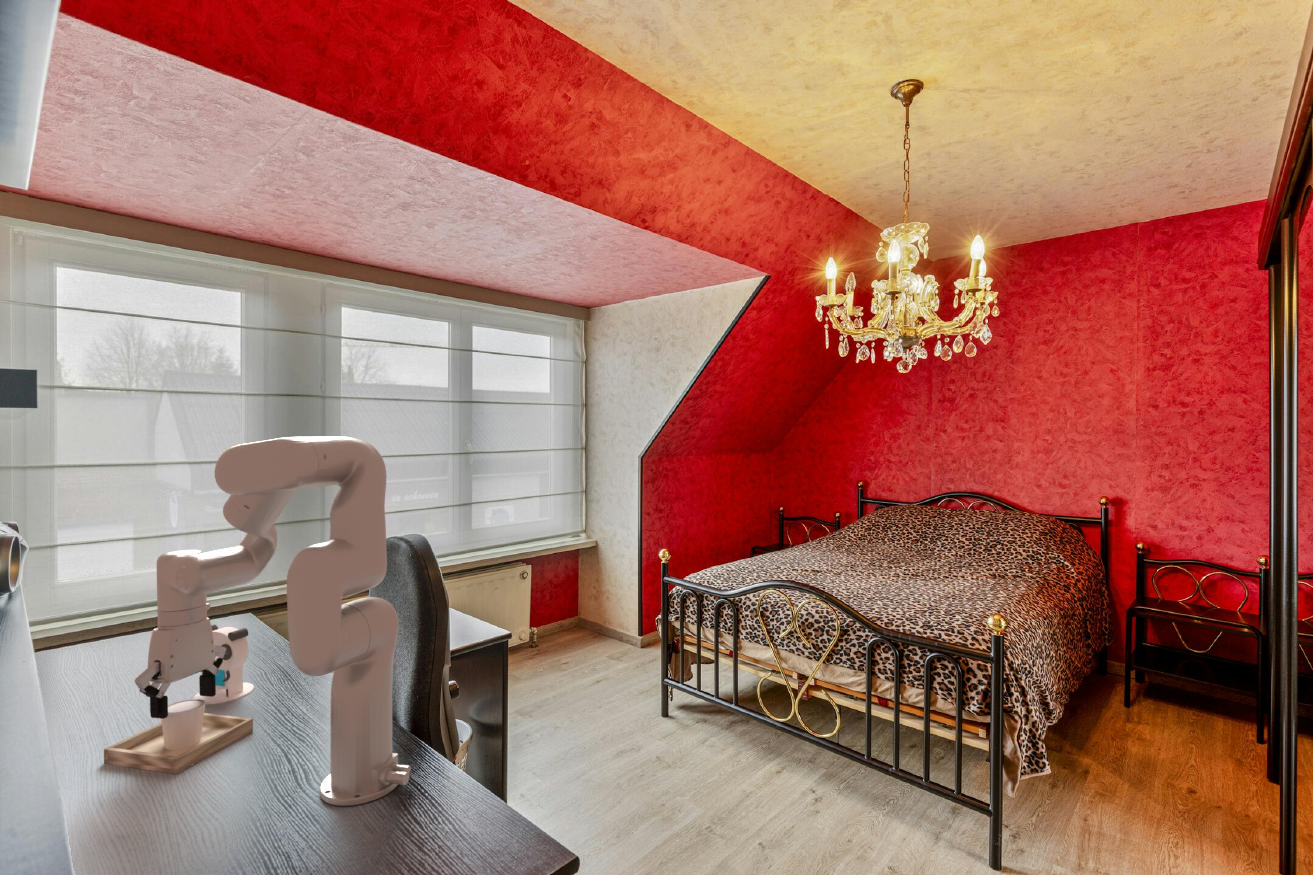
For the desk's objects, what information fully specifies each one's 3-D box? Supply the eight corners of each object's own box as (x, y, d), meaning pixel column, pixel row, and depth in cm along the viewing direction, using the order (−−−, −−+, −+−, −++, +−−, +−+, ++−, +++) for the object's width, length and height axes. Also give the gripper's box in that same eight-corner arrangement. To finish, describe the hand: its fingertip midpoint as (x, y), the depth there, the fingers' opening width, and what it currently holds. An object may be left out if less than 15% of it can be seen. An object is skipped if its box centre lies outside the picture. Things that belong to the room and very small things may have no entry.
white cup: (181, 753, 115) (181, 715, 115) (150, 749, 117) (150, 712, 116) (214, 735, 122) (214, 699, 122) (185, 732, 123) (185, 696, 123)
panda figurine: (179, 699, 140) (179, 633, 140) (227, 680, 151) (227, 618, 151) (219, 707, 136) (219, 638, 136) (265, 686, 147) (265, 623, 147)
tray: (252, 731, 125) (252, 718, 125) (176, 773, 110) (176, 759, 110) (187, 723, 129) (187, 710, 129) (103, 763, 113) (103, 749, 113)
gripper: (207, 603, 128) (209, 686, 128) (119, 629, 111) (121, 725, 111) (238, 604, 127) (240, 689, 127) (153, 631, 110) (155, 728, 110)
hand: (184, 706), depth 119 cm, fingers open, 9 cm apart
